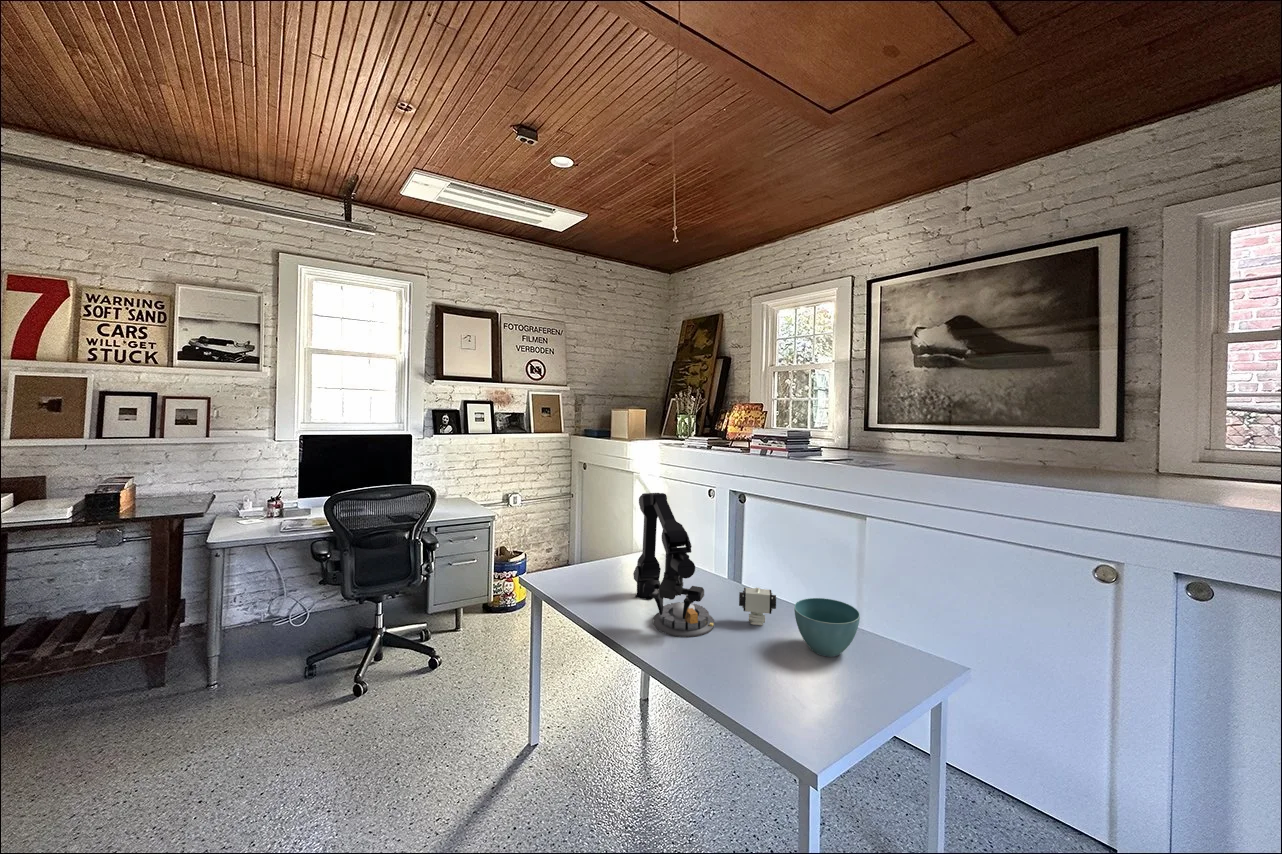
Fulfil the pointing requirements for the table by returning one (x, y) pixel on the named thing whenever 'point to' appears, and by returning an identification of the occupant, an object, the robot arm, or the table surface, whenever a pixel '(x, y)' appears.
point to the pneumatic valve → (757, 604)
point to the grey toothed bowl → (691, 621)
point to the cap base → (681, 632)
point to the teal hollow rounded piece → (826, 624)
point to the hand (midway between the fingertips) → (672, 616)
